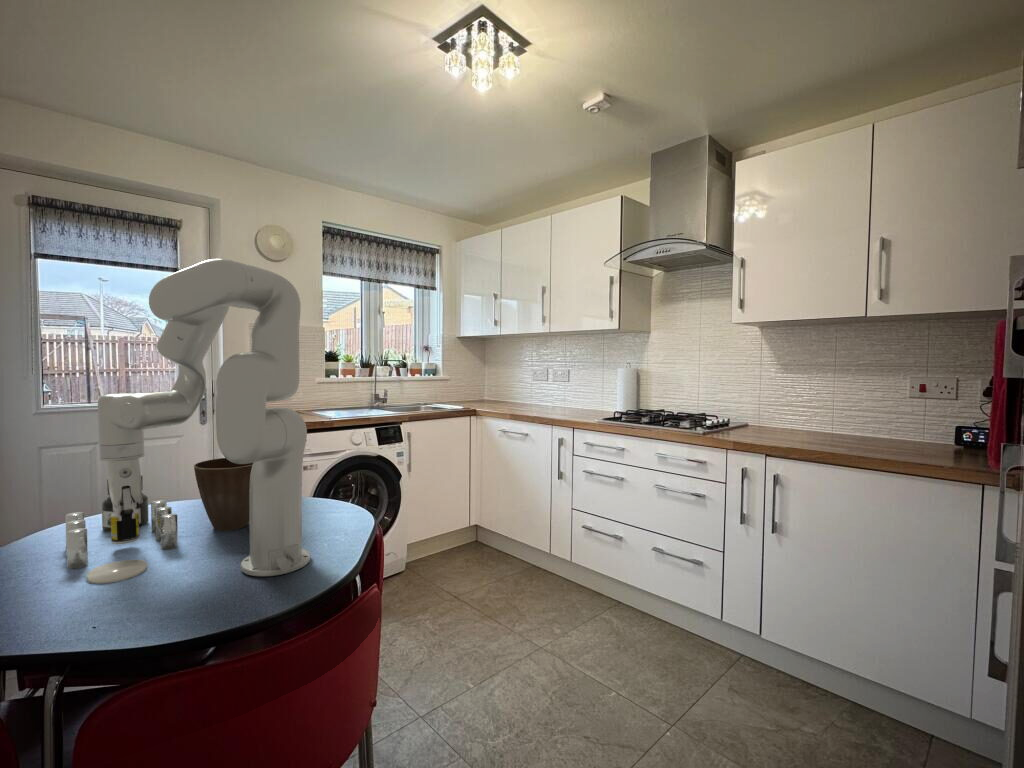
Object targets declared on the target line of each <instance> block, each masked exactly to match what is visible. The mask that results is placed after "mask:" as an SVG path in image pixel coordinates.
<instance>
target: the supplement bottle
mask: <svg viewBox="0 0 1024 768" xmlns="http://www.w3.org/2000/svg"><path fill="white" fill-rule="evenodd" d="M120 506H123V503H120ZM136 506H137V505H136V502H135V500H134V511H135V518H136V534H137V536H136V537H134V538H129V539H124V540H118V539H117V521H118V509H117V507H114V506H113V511H114V512H113V513H112V514H111V531H110V535H111V537H110V538H111V541H110V542H111V543H112V544H113V545H124V544H125V545H126V544H129V543H134V542H136V541H138V540H139V539H140V527H139V511H138V510H137V509H135V508H136ZM122 510H124V509H121V512H122Z"/></svg>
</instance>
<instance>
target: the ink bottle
mask: <svg viewBox="0 0 1024 768" xmlns="http://www.w3.org/2000/svg"><path fill="white" fill-rule="evenodd" d="M143 479H144V477H143V475H142V474H141V487H142V491H143V490H144V488H143V487H144V486H143V484H144V483H143V481H144V480H143ZM106 484H107V485H106V486H107V488H106V489H107V495H108V497H106V499H105V500H103V502H102V503H101V527H102V530H103V531H105V532H111V514H112V513H113V512H114V511H113V504H112V501H111V497H110V492H109V483H108V479H107V483H106ZM142 500H143V502H142V503H141V504H138V503H136V505H137V506H136V508H135V509H137V510H138V511H139V528H141V527H143V526H146V525H147V524H148V523H149V497H148V496H147V494H144V493H143V492H142Z"/></svg>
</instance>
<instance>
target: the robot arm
mask: <svg viewBox="0 0 1024 768" xmlns="http://www.w3.org/2000/svg"><path fill="white" fill-rule="evenodd" d="M300 298H301V297H300V295H299V293H298V290H297V289H296V287H295V286H294V284H292V282H291V281H289V280H288V279H287V278H285V277H284V276H282V275H279V273H275V272H273V271H270V270H269V269H265V268H261V267H257V266H253V265H250V264H246V263H245V264H244V263H241V262H238V261H235V260H232V259H227V258H226V259H225V258H211V259H207V260H204V261H201V262H198V263H196V264H194V265H191V266H189V267H186V268H183V269H180V270H178V271H176V272H172V273H170V274H169V275H166V276H164V277H163V278H161V279H160V280H159V281H157V282H156V283H155V284H154V286H152V289H151V290H150V293H149V296H148V306H149V309H150V310H151V313H152V314H153V315H154V317H156V318H157V319H159V320H162V321H166V322H167V323H166V324H165V325H166V326H165V327H164V329H163V331H162V333H161V335H160V337H159V339H158V341H157V343H156V349H157V352H158V353H159V354H160V355H161V356H162V357H163V358H165V359H167V360H168V361H169V362H172V363H173V364H176V365H178V375H177V379H176V381H175V382H174V384H173V386H172V388H171V389H170V391H158V392H157V391H156V392H143V393H142V392H141V393H109V394H104V395H101V396H99V398H98V399H97V418H98V419H97V421H98V426H97V427H98V444H99V445H98V447H99V448H98V449H99V461H100V462H106V464H107V480H108V483H109V492H110V497H111V501H112V504H113V506H114V507H117V509H118V521H117V539H118V540H124V539H129V538H134V537H136V536H137V534H136V518H135V511H134V500H135V502H136V503H138V504H141V503H142V502H143V500H142V493H143V490H142V489H143V488H142V487H141V475H142V474H141V464H140V458H144V457H145V441H144V440H145V439H144V438H145V437H144V436H145V435H144V430H150V429H157V428H162V427H171V426H178V425H181V424H184V423H185V422H187V421H188V420H190V419H191V417H192V416H193V415H194V414H195V412H196V411H197V409H198V407H199V405H200V404H201V401H202V399H203V397H204V395H205V393H206V389H207V374H206V369H205V367H204V366H205V365H204V363H203V361H204V359H205V357H206V355H207V353H208V350H209V349H210V347H211V345H212V343H213V341H214V339H215V337H216V336H217V334H218V331H219V329H220V328H221V326H222V324H223V322H224V320H225V318H226V316H227V314H228V312H229V307H233V308H238V309H239V308H240V309H247V310H255V311H257V312H258V313H259V314H258V315H257V317H256V319H254V320H255V321H254V324H253V326H252V329H251V330H252V331H251V352H249V351H246V352H245V351H244V352H239V353H235V354H232V355H231V356H229V357H227V359H226V360H224V362H223V363H222V365H221V366H220V367H219V369H218V373H217V375H216V379H215V380H216V382H215V415H216V418H215V423H216V424H215V426H216V427H215V428H216V430H215V431H216V434H215V435H216V442H217V445H218V449H219V451H220V453H221V454H222V456H223V458H226V459H228V460H229V461H231V462H233V463H236V464H249V463H253V462H254V463H253V466H252V469H251V474H250V490H249V504H250V521H249V555H248V556H246V557H245V558H243V560H242V561H241V563H240V570H241V572H242V573H244V574H245V575H248V576H253V577H274V576H280V575H284V574H289V573H292V572H294V571H295V572H296V571H298V570H299V569H301V568H304V567H305V566H306V565H307V564H308V563H309V562H310V560H311V553H310V551H309V550H307V549H305V548H303V534H302V533H303V527H302V526H303V524H302V523H303V516H302V515H303V508H302V507H303V506H302V505H303V502H302V501H303V494H302V493H303V463H304V462H303V461H304V456H305V455H304V454H305V449H306V446H307V444H306V443H307V436H308V429H307V425H306V424H307V423H306V422H305V420H304V418H303V416H302V415H301V414H300V413H299V412H298V411H295V410H294V409H291V408H288V407H284V406H283V407H269V408H267V407H266V406H267V403H271V402H272V403H273V402H279V401H284V400H288V399H290V398H291V397H293V396H294V395H295V394H296V393H297V391H298V389H299V386H300V385H299V384H300V322H301V312H302V311H301V307H302V305H301V299H300ZM120 503H123V506H120ZM121 509H124V510H122V512H121Z"/></svg>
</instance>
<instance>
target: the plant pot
mask: <svg viewBox="0 0 1024 768" xmlns="http://www.w3.org/2000/svg"><path fill="white" fill-rule="evenodd" d="M253 463H254V462H253ZM253 463H249V464H236V463H233V462H231V461H229V460H228V459H226V458H225V457H220V458H213V459H209V460H202V461H199V462H197V463H195V464H193V470H194V475H195V480H196V484H197V489H198V492H199V495H200V499H201V502H202V505H203V507H204V510H205V512H206V515H207V517H208V519H209V522H210V524H211V525H212V527H213V530H215V531H218V532H229V531H230V530H232V531H235V530H236V529H237V530H239V529H240V528H241V529H243V528H246V527H247V526H248V525H249V524H250V504H249V490H250V474H251V469H252V466H253ZM245 526H246V527H245ZM237 530H236V531H237Z"/></svg>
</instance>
